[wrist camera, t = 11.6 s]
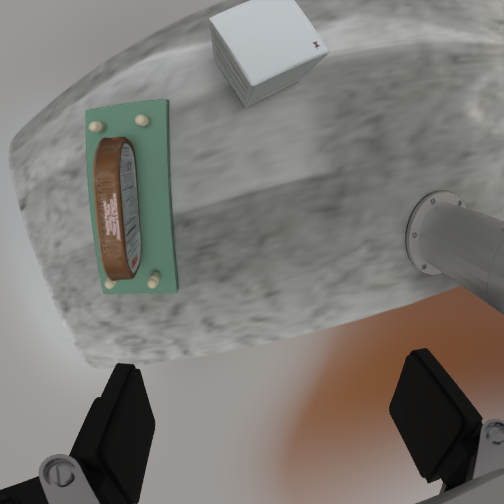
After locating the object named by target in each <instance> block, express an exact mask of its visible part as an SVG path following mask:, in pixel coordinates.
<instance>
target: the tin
mask: <svg viewBox="0 0 504 504" xmlns="http://www.w3.org/2000/svg"><path fill="white" fill-rule="evenodd" d="M93 189H94V202H95V213H96V223H97V232H98V240H99V248H100V255H101V261H102V265H103V268H104V271H105V273H106V275H107V277H108V278H109V279H110V280H111V281H116V280H129V279H133V278H134V277H135V276H136V274H137V271H138V269H139V267H140V262H141V230H140V215H139V199H138V182H137V167H136V158H135V152H134V148H133V145H132V143H131V141H130V140H129V139H127V138H126V137H114V138H107V137H104V138H102V139H101V140H100V141H99V143H98V145H97V147H96V151H95V155H94V162H93Z"/></svg>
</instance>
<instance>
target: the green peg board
mask: <svg viewBox="0 0 504 504" xmlns="http://www.w3.org/2000/svg"><path fill="white" fill-rule="evenodd" d="M104 137H107V138H114V137H126V138H127V139H129V140H130V141H131V143H132V145H133V148H134V152H135V158H136V167H137V182H138V199H139V215H140V230H141V262H140V267H139V269H138V271H137V274H136V276H135V277H134V278H133V279H129V280H116V281H111V280H110V279H109V278H108V277H107V275H106V273H105V271H104V268H103V265H102V261H101V255H100V248H99V240H98V232H97V223H96V213H95V202H94V189H93V162H94V155H95V151H96V147H97V145H98V143H99V141H100V140H101V139H102V138H104ZM86 159H87V177H88V190H89V201H90V211H91V220H92V228H93V235H94V243H95V249H96V256H97V262H98V268H99V273H100V279H101V284H102V289H103V294H136V293H177V291H178V288H179V287H178V277H177V267H176V256H175V245H174V232H173V218H172V202H171V182H170V156H169V101H168V100H167V99H161V100H151V101H143V102H135V103H127V104H120V105H114V106H108V107H102V108H96V109H91V110H86Z"/></svg>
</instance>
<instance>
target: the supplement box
mask: <svg viewBox="0 0 504 504" xmlns="http://www.w3.org/2000/svg"><path fill="white" fill-rule="evenodd" d="M209 22H210V30H211V37H212V44H213V53H214V60H215V62H216V63H217V65H218V66H219V68H220V69H221V71H222V72H223V74H224V75H225V77H226V78H227V80H228V82H229V83H230V85H231V86H232V88H233V89H234V91H235V93H236V94H237V96H238V97H239V99H240V101H241V102H242V104H243V105H244V107H245V108H247V107H249V106H251V105H253V104H255V103H257V102H259V101H261V100H263V99H265V98H267V97H269V96H271V95H273V94H275V93H277V92H279V91H281V90H283V89H285V88H287V87H289V86H291V85H293V84H295V83H297V82H298V81H299V80H300V79H301V78H302V77H303V76H304V75H305V74H306V73H308V72H309V71H310V70H311V69H312V68H313V67H314V66H315V65H316V64H317V63H318V62H319V61H321V60H322V59H323V58H324V57H325V56H326V55H327V54H328V53H329V52H330V51H329V49H328V48H327V46H326V45H325V43H324V42H323V40H322V39H321V37H320V36H319V34H318V33H317V31H316V30H315V28H314V27H313V26H312V24H311V23H310V21H309V20H308V18H307V17H306V16H305V14H304V13H303V11H302V10H301V9H300V7H299V6H298V5H297V3H296V2H295V1H294V0H249V1H247V2H244V3H242V4H240V5H237V6H235V7H233V8H230V9H228V10H226V11H224V12H221V13H219V14H217V15H215V16H213V17H211V18H209Z"/></svg>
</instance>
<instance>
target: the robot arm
mask: <svg viewBox="0 0 504 504" xmlns="http://www.w3.org/2000/svg"><path fill="white" fill-rule="evenodd" d="M406 246H407V252H408V255H409V258H410V260H411V261H412V263H413V265H414V266H415V267H416V268H417V269H419V270H420V271H422V272H423V273H426V274H428V275H439V274H442V273H444V274H445V275H447V276H448V277H450V278H451V279H453V280H454V281H456V282H457V283H459V284H460V285H462V286H463V287H465V288H466V289H468V290H469V291H471V292H472V293H474V294H475V295H476V296H478V297H479V298H480V299H482V300H483V301H485V302H486V303H488V304H489V305H490V306H492V307H493V308H495V309H496V310H497V311H499V312H500V313H502V314H504V222H503V221H500V220H498V219H495V218H492V217H489V216H487V215H484V214H481V213H478V212H475V211H472V210H469V209H467V206H466V204H465V203H464V201H463V200H462V199H461V198H460V197H459V196H458V195H456V194H454V193H451V192H448V191H437V192H434V193H431V194H429V195H428V196H427V197H425V198H424V199H423V200H422V201H421V202H420V203H419V204H418V205H417V207H416V208H415V210H414V212H413V214H412V216H411V218H410V221H409V224H408V228H407V234H406ZM389 412H390V415H391V417H392V419H393V420H394V423H395V425H396V427H397V428H398V430H399V432H400V434H401V436H402V438H403V440H404V442H405V444H406V446H407V448H408V450H409V452H410V454H411V457H412V458H413V461H414V463H415V465H416V467H417V469H418V471H419V473H420V475H421V476H422V477H423V478H426V480H427V482H428V483H431V482H433V481H436V480H438V479H440V478H441V479H442V481H443V484H442V487H441V490H440V493H439V495H437V496H434V497H432V498H429V499H427V500H424V501H421V502H419V503H416V504H504V421H503V420H500V419H490V420H488V421H486V422H485V423H484V424H482V422H481V421H482V419H483V418H482V417H481V415H480V414H479V413H478V411H477V410H476V409H475V407H474V406H473V405H472V403H471V402H470V401H469V399H468V398H467V397H466V396H465V394H464V393H463V392H462V390H461V389H460V388H459V387H458V385H457V384H456V383H455V382H454V380H453V379H452V378H451V377H450V375H449V374H448V373H447V372H446V371H445V369H444V368H443V367H442V366H441V364H440V363H439V362H438V361H437V360H436V358H435V357H434V356H433V355H432V354H431V352H430V351H429V350H428V349H426V348H423V349H418V350H413V351H411V353H410V355H408V356H407V357H406V360H405V363H404V366H403V369H402V372H401V375H400V379H399V381H398V384H397V387H396V390H395V393H394V395H393V398H392V401H391V403H390V406H389ZM154 431H155V419H154V416H153V413H152V410H151V406H150V403H149V400H148V396H147V393H146V389H145V386H144V382H143V378H142V375H141V371H140V369H136V368H135V366H134V365H133V364H123V363H118V364H116V366H115V368H114V370H113V372H112V374H111V376H110V378H109V380H108V383H107V385H106V387H105V389H104V391H103V393H102V395H101V397H97V398H96V399H95V400H94V402H93V404H92V406H91V408H90V410H89V412H88V414H87V416H86V419H85V421H84V423H83V425H82V428H81V430H80V432H79V434H78V436H77V438H76V441H75V443H74V446H73V448H72V450H71V452H70V455H69V456H67V455H63V454H57V455H52V456H50V457H48V458H47V459H45V460H44V461H43V462H42V464H41V466H40V468H39V476H38V477H35V478H33V479H30V480H28V481H25V482H22V483H19V484H16V485H14V486H10V487H8V488H5V489H2V490H0V504H137V503H138V502H139V498H140V493H141V489H142V484H143V479H144V475H145V470H146V465H147V461H148V456H149V452H150V448H151V443H152V439H153V435H154Z"/></svg>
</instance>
